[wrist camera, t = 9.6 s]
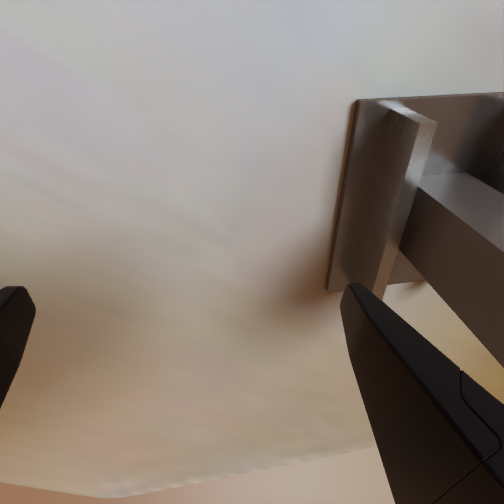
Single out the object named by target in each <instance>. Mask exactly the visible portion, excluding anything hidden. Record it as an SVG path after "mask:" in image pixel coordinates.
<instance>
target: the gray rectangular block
mask: <svg viewBox="0 0 504 504" xmlns="http://www.w3.org/2000/svg"><path fill="white" fill-rule="evenodd" d="M398 249H399V250H400V251H401V252H402V254H403V255H404V256H405V257H406V258H407V259H408V260H409V262H410V263H411V264H412V265H413V266H414V267H415V268H416V269H417V271H418V272H419V273H420V274H421V275H422V276H423V277H424V278H425V280H426V281H427V282H428V283H429V284H430V285H431V286H432V287H433V289H434V290H435V291H436V292H437V293H438V294H439V295H440V297H441V298H442V299H443V300H444V301H445V302H446V303H447V304H448V306H449V307H450V308H451V309H452V310H453V311H454V312H455V313H456V315H457V316H458V317H459V318H460V319H461V320H462V321H463V322H464V324H465V325H466V326H467V327H468V328H469V329H470V330H471V331H472V333H473V334H474V335H475V336H476V337H477V338H478V339H479V341H480V342H481V343H482V344H483V345H484V346H485V347H486V348H487V350H488V351H489V352H490V353H491V354H492V355H493V356H494V357H495V359H496V360H497V361H498V362H499V363H500V364H501V365H502V366H503V368H504V194H502V193H500V192H499V191H497V190H495V189H494V188H492V187H490V186H489V185H487V184H485V183H484V182H482V181H480V180H478V179H477V178H475V177H473V176H472V175H470V174H468V173H467V172H464V173H452V174H440V175H428V176H421V178H420V181H419V184H418V187H417V191H416V194H415V197H414V200H413V203H412V206H411V210H410V213H409V216H408V219H407V222H406V225H405V229H404V232H403V235H402V238H401V241H400V245H399V248H398Z"/></svg>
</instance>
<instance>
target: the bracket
mask: <svg viewBox="0 0 504 504" xmlns="http://www.w3.org/2000/svg"><path fill="white" fill-rule="evenodd" d="M464 172H467V173H468V174H470V175H472V176H473V177H475V178H477V179H478V180H480V181H482V182H484V183H485V184H487V185H489V186H490V187H492V188H494V189H495V190H497V191H499V192H500V193H502V194H504V92H494V93H475V94H455V95H436V96H416V97H397V98H377V99H358V100H357V103H356V109H355V115H354V121H353V127H352V133H351V139H350V145H349V151H348V157H347V163H346V169H345V175H344V181H343V187H342V193H341V199H340V205H339V211H338V217H337V223H336V228H335V234H334V240H333V246H332V252H331V258H330V264H329V270H328V276H327V282H326V288H325V289H326V291H327V293H329V292H337V291H344V289H345V287H346V285H347V284H348V283H361V284H363V285H364V286H365V287H366V288H367V289H369V290H370V291H371V292H372V293H373V294H374V295H376V296H377V297H378V298H379V299H380V300H381V301H382V299H383V295H384V292H385V289H386V286H387V285H391V284H398V283H406V282H414V281H421V280H425V278H424V277H423V276H422V275H421V274H420V273H419V272H418V271H417V269H416V268H415V267H414V266H413V265H412V264H411V263H410V262H409V260H408V259H407V258H406V257H405V256H404V255H403V254H402V252H401V251H400V250H399V249H398V248H399V245H400V241H401V238H402V235H403V232H404V229H405V225H406V222H407V219H408V216H409V213H410V210H411V206H412V203H413V200H414V197H415V194H416V191H417V187H418V184H419V181H420V178H421V176H428V175H440V174H452V173H464Z"/></svg>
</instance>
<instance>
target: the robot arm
mask: <svg viewBox="0 0 504 504" xmlns="http://www.w3.org/2000/svg"><path fill="white" fill-rule="evenodd" d="M340 310H341V316H342V321H343V326H344V331H345V337H346V342H347V347H348V352H349V357H350V360H351V364H352V367H353V370H354V373H355V377H356V380H357V383H358V386H359V389H360V393H361V396H362V399H363V402H364V405H365V408H366V412H367V415H368V418H369V421H370V424H371V428H372V431H373V434H374V437H375V440H376V444H377V447H378V450H379V453H380V456H381V460H382V462H383V466H384V469H385V472H386V475H387V479H388V482H389V485H390V488H391V491H392V495H393V498H394V501H395V504H504V404H503V403H501V402H500V401H499V400H497V399H496V398H495V397H494V396H492V395H491V394H490V393H489V392H488V391H486V390H485V389H484V388H483V387H482V386H480V385H479V384H478V383H477V382H476V381H474V380H473V379H472V378H471V377H470V376H469V375H467V374H466V373H465V372H464V371H462V370H461V371H460V368H459V367H458V366H457V365H456V364H454V363H453V362H452V361H451V360H450V359H449V358H447V357H446V356H445V355H444V354H443V353H442V352H441V351H439V350H438V349H437V348H436V347H435V346H434V345H432V344H431V343H430V342H429V341H428V340H427V339H425V338H424V337H423V336H422V335H421V334H420V333H418V332H417V331H416V330H415V329H414V328H413V327H412V326H410V325H409V324H408V323H407V322H406V321H405V320H403V319H402V318H401V317H400V316H399V315H398V314H396V313H395V312H394V311H393V310H392V309H391V308H389V307H388V306H387V305H386V304H385V303H384V302H382V301H381V300H380V299H379V298H378V297H377V296H376V295H374V294H373V293H372V292H371V291H370V290H369V289H367V288H366V287H365V286H364V285H363V284H361V283H348V284H347V285H346V287H345V289H344V293H343V296H342V299H341V303H340ZM35 314H36V308H35V305H34V303H33V301H32V299H31V297H30V295H29V293H28V291H27V289H26V288H25V287H23V286H7V287H4V288H3V289H1V290H0V408H1V406H2V404H3V401H4V399H5V397H6V395H7V392H8V390H9V388H10V385H11V383H12V381H13V379H14V376H15V374H16V372H17V369H18V367H19V365H20V362H21V359H22V356H23V353H24V350H25V346H26V343H27V340H28V337H29V334H30V330H31V327H32V324H33V321H34V318H35Z"/></svg>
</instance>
